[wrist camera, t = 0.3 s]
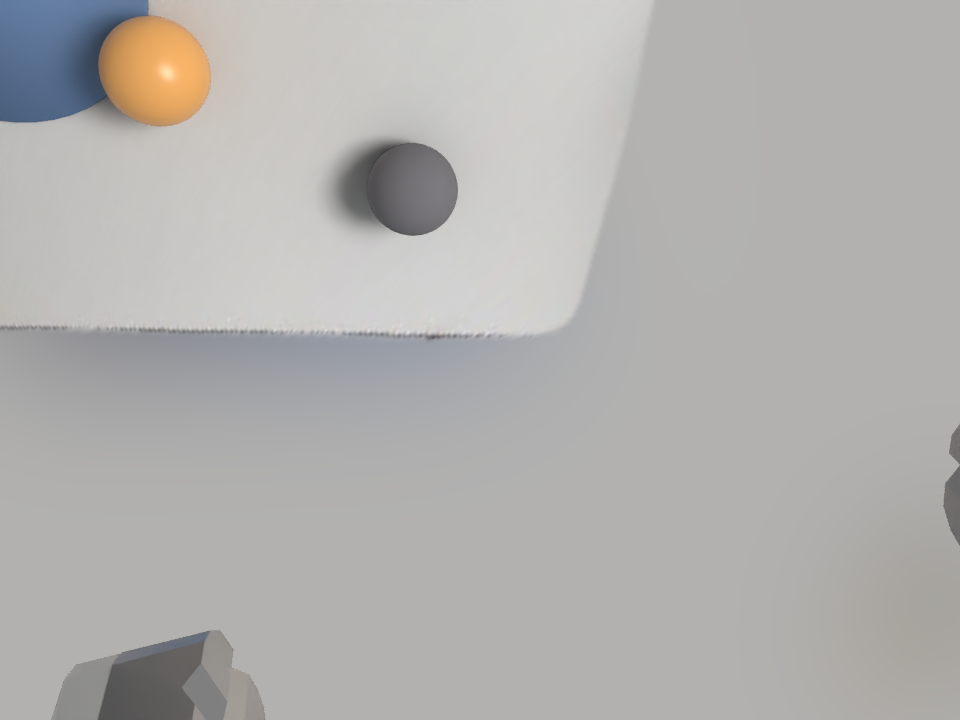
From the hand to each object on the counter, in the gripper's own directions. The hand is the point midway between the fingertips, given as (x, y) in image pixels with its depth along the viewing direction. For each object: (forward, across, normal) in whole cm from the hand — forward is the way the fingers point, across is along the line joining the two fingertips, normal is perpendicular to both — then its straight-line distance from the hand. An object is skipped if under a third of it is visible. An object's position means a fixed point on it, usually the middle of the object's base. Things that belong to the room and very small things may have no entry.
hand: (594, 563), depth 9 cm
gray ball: (+38, +2, +10) cm, 39 cm away
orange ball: (+36, +12, 0) cm, 38 cm away
